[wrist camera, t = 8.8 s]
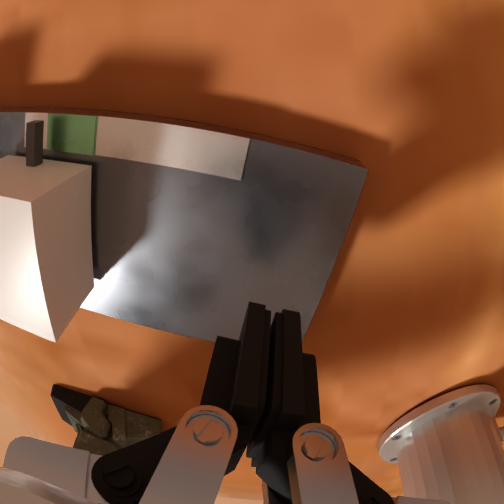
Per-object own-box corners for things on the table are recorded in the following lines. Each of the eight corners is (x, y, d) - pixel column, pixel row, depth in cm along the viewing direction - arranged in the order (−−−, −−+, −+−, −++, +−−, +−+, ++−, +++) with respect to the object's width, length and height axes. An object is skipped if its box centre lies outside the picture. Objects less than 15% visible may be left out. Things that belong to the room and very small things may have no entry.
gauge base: (358, 160, 12) (424, 225, 7) (293, 337, 17) (298, 440, 12) (-45, 110, 11) (-122, 140, 5) (-30, 250, 16) (-86, 301, 10)
